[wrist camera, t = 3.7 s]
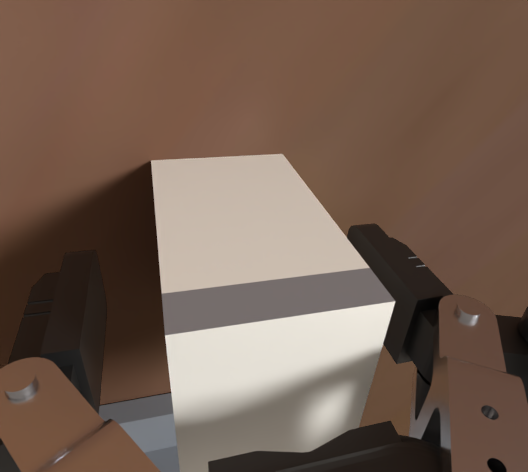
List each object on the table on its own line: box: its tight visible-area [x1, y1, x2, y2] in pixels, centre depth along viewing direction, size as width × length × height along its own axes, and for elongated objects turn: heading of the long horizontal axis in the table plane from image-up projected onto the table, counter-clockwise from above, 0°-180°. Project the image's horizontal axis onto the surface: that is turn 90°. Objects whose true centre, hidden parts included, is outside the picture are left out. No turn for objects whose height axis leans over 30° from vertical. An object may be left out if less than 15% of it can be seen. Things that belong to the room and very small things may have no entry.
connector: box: [151, 154, 395, 472], centre depth 11 cm, size 4×5×7 cm
